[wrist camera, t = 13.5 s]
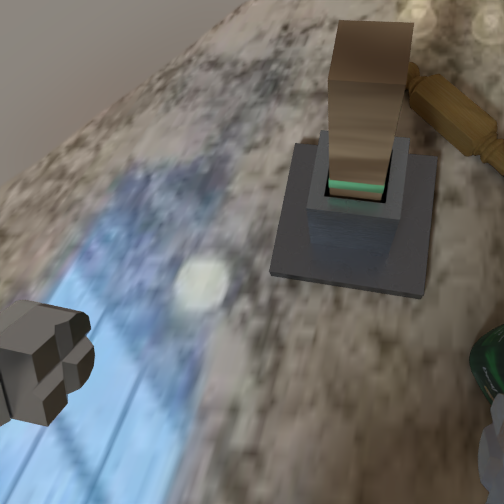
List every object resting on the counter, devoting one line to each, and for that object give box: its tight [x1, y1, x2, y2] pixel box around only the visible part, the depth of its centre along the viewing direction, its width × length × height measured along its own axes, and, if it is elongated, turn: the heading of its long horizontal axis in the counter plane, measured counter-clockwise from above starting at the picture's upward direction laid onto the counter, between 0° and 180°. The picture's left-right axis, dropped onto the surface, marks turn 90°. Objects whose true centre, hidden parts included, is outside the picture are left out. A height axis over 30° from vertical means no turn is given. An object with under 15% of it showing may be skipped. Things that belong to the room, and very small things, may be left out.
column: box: [328, 20, 414, 203], centre depth 32 cm, size 4×4×15 cm
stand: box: [269, 130, 438, 299], centre depth 42 cm, size 14×14×10 cm
